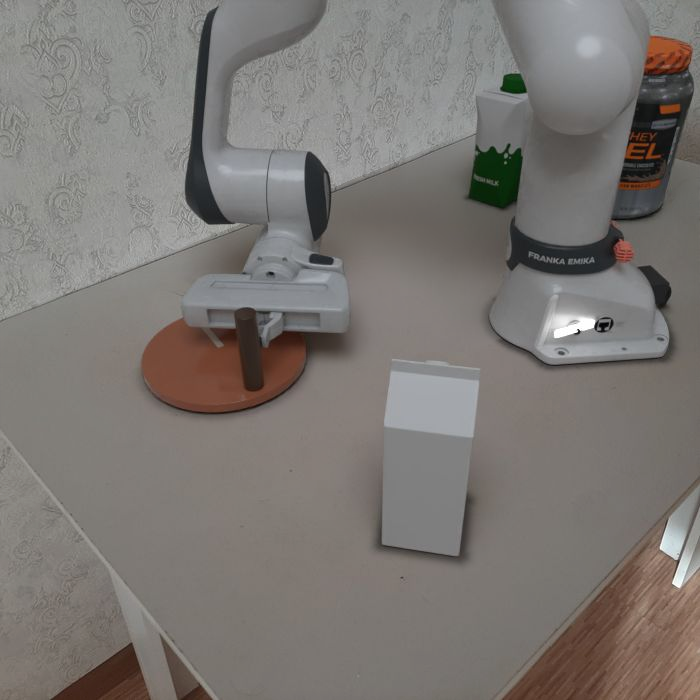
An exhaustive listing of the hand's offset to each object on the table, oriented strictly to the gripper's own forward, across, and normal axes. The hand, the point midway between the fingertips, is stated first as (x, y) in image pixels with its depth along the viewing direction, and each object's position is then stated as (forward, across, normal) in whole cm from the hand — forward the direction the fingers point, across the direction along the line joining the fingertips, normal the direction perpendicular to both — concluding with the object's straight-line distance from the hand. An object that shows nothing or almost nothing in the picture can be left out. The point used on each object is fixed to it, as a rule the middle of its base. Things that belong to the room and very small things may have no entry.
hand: (255, 342), depth 80 cm
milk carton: (+18, +19, +7) cm, 27 cm away
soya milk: (-56, +31, +7) cm, 64 cm away
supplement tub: (-54, +51, +7) cm, 75 cm away
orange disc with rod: (-5, -5, +7) cm, 10 cm away
